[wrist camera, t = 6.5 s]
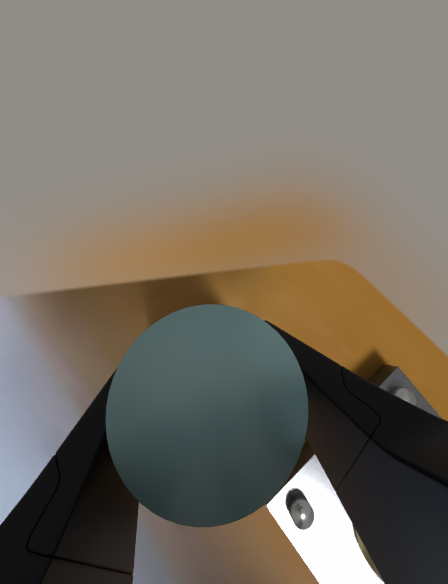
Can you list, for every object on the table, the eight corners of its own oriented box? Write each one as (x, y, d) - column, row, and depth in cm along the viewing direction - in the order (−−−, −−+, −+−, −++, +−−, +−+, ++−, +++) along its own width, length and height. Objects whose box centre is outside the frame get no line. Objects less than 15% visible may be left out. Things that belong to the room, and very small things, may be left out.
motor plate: (396, 686, 14) (429, 745, 12) (260, 490, 16) (268, 512, 14) (507, 513, 17) (548, 536, 15) (383, 364, 19) (404, 367, 17)
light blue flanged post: (196, 431, 14) (177, 653, 4) (143, 352, 15) (21, 380, 5) (267, 369, 15) (382, 423, 5) (215, 300, 16) (233, 239, 6)
